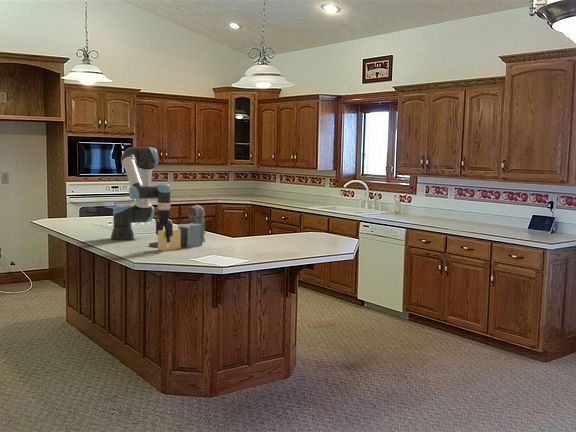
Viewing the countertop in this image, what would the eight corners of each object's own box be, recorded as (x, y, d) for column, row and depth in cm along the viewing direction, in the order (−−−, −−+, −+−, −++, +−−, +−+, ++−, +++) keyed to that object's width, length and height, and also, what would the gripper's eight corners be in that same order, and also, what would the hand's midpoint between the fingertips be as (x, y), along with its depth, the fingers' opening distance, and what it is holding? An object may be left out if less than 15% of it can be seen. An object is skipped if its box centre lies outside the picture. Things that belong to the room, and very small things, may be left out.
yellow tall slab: (157, 249, 371) (157, 230, 370) (175, 247, 382) (175, 228, 381) (163, 250, 368) (163, 231, 367) (180, 248, 379) (180, 229, 378)
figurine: (198, 243, 401) (198, 205, 398) (185, 240, 411) (185, 204, 408) (209, 241, 408) (209, 204, 405) (196, 239, 418) (196, 203, 415)
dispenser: (178, 246, 387) (178, 224, 386) (192, 244, 397) (192, 222, 395) (188, 247, 382) (188, 225, 380) (202, 245, 391) (202, 224, 390)
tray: (149, 246, 385) (149, 243, 385) (170, 243, 399) (170, 240, 399) (158, 247, 380) (158, 244, 380) (179, 244, 394) (179, 241, 394)
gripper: (149, 208, 372) (149, 246, 374) (169, 210, 361) (169, 249, 363) (158, 207, 378) (159, 244, 380) (178, 210, 367) (178, 248, 369)
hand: (164, 247), depth 372 cm, fingers closed on yellow tall slab, 5 cm apart
